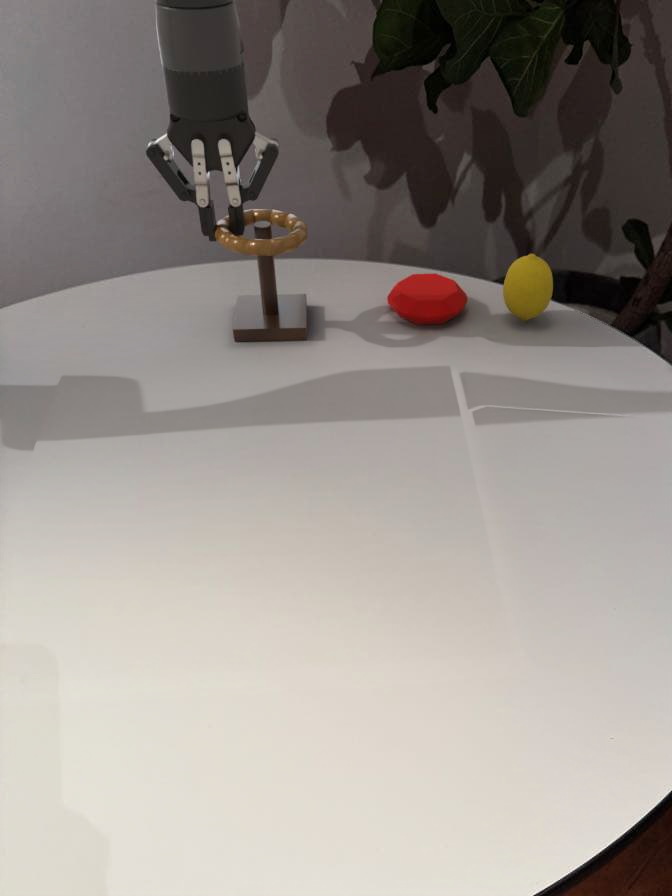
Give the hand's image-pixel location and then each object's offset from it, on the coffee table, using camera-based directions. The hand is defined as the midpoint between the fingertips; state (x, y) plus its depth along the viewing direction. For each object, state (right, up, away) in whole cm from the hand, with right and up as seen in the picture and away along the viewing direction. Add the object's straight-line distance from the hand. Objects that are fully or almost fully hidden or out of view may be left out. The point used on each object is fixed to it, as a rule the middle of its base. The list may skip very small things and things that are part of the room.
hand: (224, 237), depth 92 cm
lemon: (+33, -7, +9) cm, 35 cm away
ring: (+4, +1, 0) cm, 4 cm away
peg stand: (+4, -7, +7) cm, 11 cm away
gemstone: (+22, -5, +10) cm, 24 cm away
